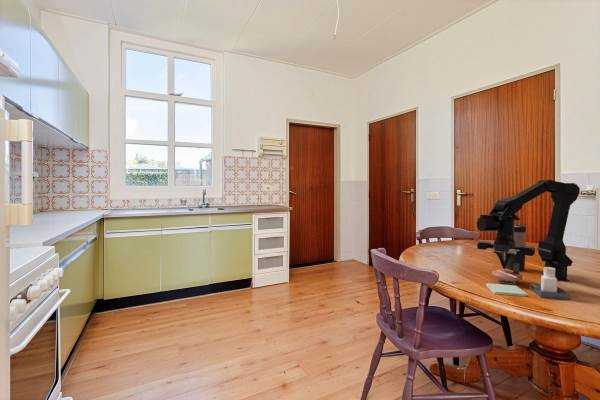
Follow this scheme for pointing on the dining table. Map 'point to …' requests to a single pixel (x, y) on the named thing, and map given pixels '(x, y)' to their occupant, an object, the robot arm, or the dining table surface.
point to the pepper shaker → (549, 280)
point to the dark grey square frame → (549, 292)
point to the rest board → (506, 289)
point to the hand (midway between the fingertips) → (504, 268)
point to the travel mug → (520, 241)
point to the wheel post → (506, 282)
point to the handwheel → (508, 274)
